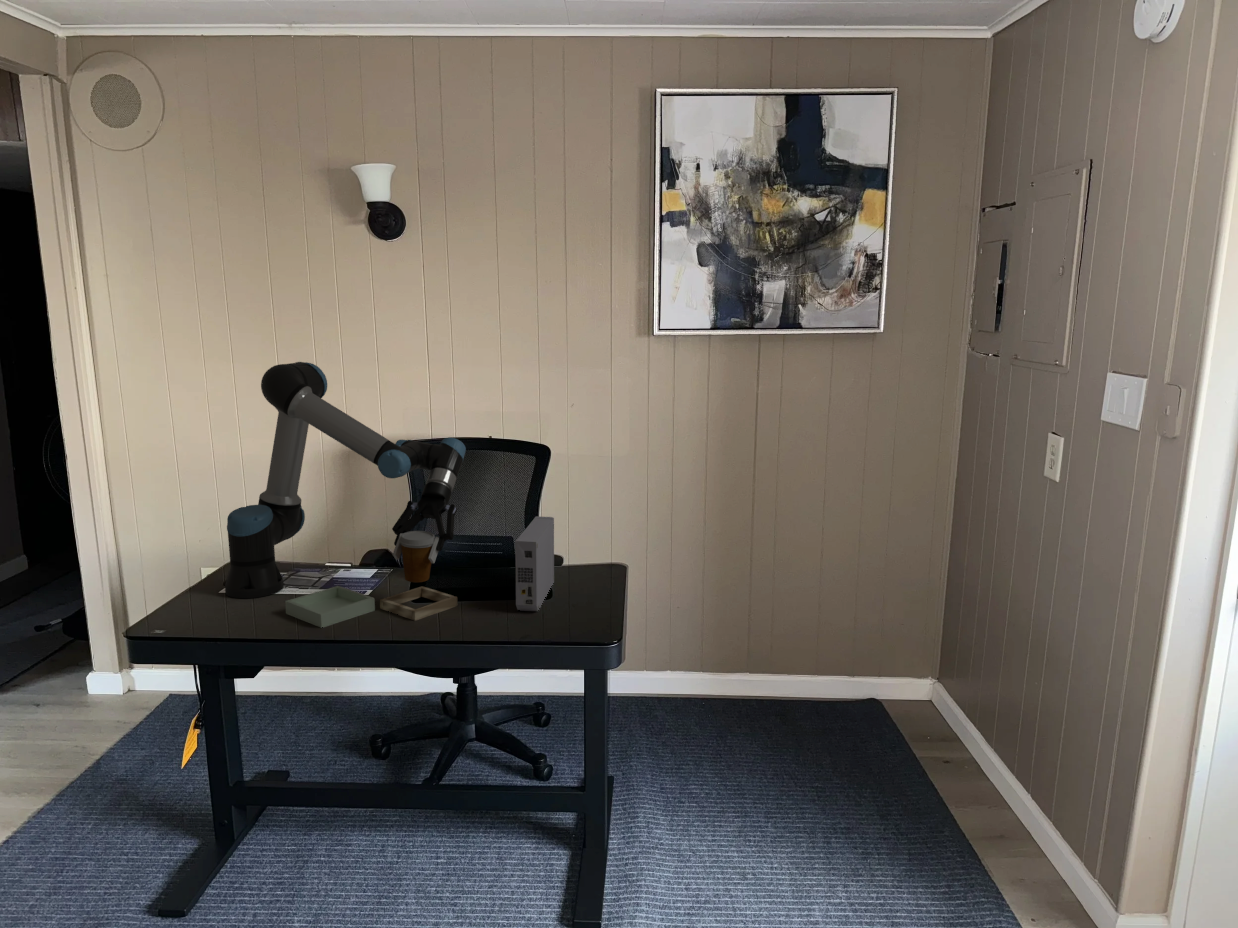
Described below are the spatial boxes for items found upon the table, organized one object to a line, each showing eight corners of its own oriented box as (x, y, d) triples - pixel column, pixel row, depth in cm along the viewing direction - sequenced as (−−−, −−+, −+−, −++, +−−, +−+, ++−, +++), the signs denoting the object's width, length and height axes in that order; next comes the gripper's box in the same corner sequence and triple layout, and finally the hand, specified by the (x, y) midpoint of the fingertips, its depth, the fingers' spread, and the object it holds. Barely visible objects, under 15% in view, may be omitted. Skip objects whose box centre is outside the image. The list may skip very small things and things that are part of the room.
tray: (286, 613, 218) (285, 600, 217) (339, 597, 230) (338, 585, 230) (321, 627, 208) (320, 614, 208) (374, 610, 221) (374, 597, 220)
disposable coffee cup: (418, 570, 229) (419, 528, 226) (442, 578, 223) (443, 535, 221) (391, 578, 221) (391, 535, 219) (415, 587, 216) (415, 543, 213)
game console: (555, 582, 246) (555, 516, 243) (537, 614, 219) (537, 541, 216) (536, 581, 247) (535, 516, 243) (516, 613, 220) (515, 541, 216)
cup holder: (380, 608, 222) (379, 599, 222) (422, 594, 234) (422, 586, 233) (415, 620, 214) (414, 611, 213) (457, 605, 225) (457, 596, 225)
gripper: (480, 498, 231) (456, 569, 219) (406, 492, 236) (380, 561, 224) (472, 483, 225) (448, 555, 213) (397, 477, 230) (369, 548, 218)
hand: (413, 558), depth 218 cm, fingers closed on disposable coffee cup, 9 cm apart
